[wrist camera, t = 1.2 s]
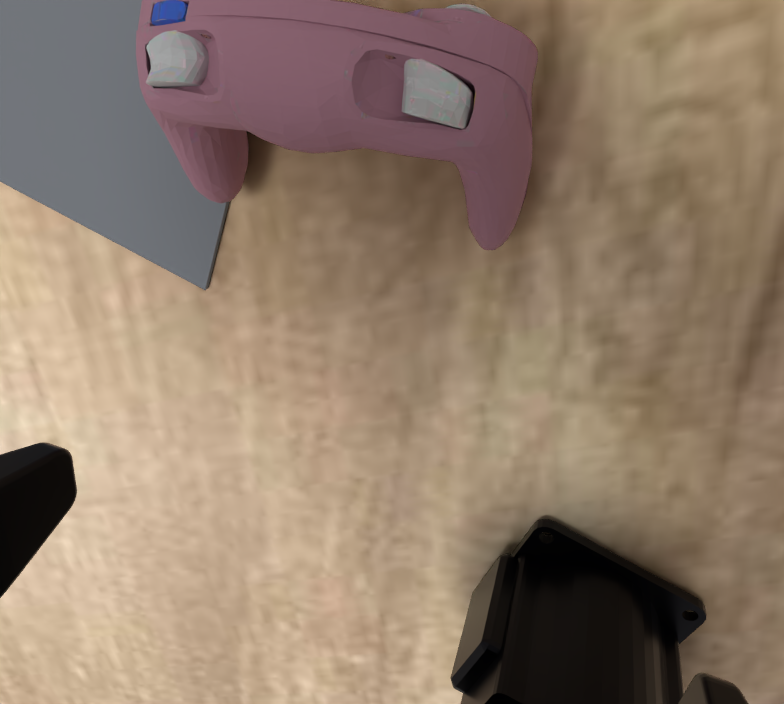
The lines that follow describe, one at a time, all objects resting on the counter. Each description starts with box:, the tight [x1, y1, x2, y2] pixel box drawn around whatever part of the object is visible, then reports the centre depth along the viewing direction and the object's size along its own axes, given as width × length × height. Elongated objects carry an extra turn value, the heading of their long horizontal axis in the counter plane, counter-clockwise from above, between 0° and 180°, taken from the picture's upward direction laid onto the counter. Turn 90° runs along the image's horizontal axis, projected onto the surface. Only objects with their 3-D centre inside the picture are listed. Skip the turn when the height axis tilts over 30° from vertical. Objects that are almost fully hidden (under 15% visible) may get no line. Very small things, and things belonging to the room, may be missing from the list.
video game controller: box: [136, 0, 538, 250], centre depth 16 cm, size 10×5×7 cm, turn 85°
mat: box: [0, 0, 229, 290], centre depth 19 cm, size 11×14×1 cm
